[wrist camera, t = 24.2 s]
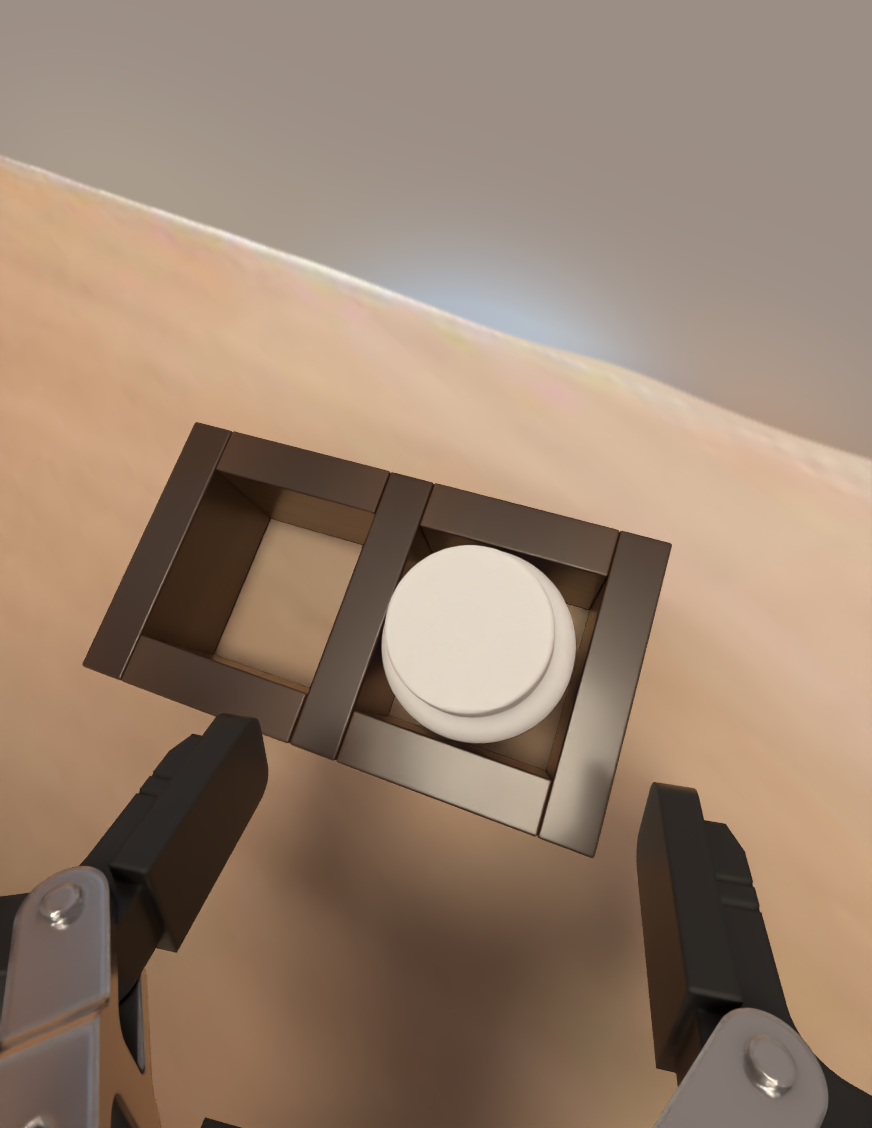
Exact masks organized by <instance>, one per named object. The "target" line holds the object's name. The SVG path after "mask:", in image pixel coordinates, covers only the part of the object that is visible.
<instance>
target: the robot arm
mask: <svg viewBox="0 0 872 1128" xmlns="http://www.w3.org/2000/svg"><path fill="white" fill-rule="evenodd" d="M267 780H268V764H267V758H266V753H265V747H264V742H263V737H262V731H261V726H260V722H259V720H258V719H257V718H253V717H247V716H241V715H234V714H228V713H221V714H219V715H218V716H217V717H216V718H215V719H214V721H213V722H212V723H211V725H210V726H209V727H208V729H207V730H206V731H205V733H204V734H203V736H201V735H195V734H192V735H191V736H189V737H188V738H187V739H185V740H184V741H182V742H181V743H180V744H178V745H177V746H176V747H174V748H173V749H171V750H170V751H169V752H168V753H167V755H166V756H165V757H164V759H163V760H162V761H161V762H160V764H159V765H158V766H157V768H156V769H155V770H154V771H153V775H152V776H150V777H149V778H148V779H147V780H146V782H145V783H144V784H143V786H142V787H141V788H140V792H139V793H138V794H137V793H136V795H135V796H134V797H133V798H132V800H131V801H130V802H129V804H128V805H127V806H126V808H125V809H124V810H123V811H122V813H121V814H120V815H119V817H118V818H117V819H116V820H115V822H114V823H113V824H112V826H111V827H110V828H109V829H108V831H107V832H106V833H105V835H104V836H103V837H102V838H101V840H100V841H99V842H98V844H97V845H96V846H95V847H94V849H93V850H92V851H91V853H90V854H89V855H88V856H87V858H86V859H85V860H84V861H83V862H82V863H81V864H80V865H79V866H78V867H72V868H69V869H65V870H63V871H60V872H58V873H56V874H54V875H52V876H50V877H48V878H47V879H46V880H44V881H43V882H41V883H40V884H39V885H38V886H36V887H35V888H34V889H33V890H32V891H31V892H30V893H24V894H17V895H9V896H2V897H0V1128H161V1123H160V1117H159V1111H158V1107H157V1103H156V1099H155V1094H154V1088H153V1080H152V1066H151V1049H150V1031H149V1013H148V996H147V978H146V970H145V966H146V964H147V962H148V961H149V959H150V957H151V956H152V954H153V952H154V950H155V949H156V948H158V949H163V950H167V951H171V952H175V953H177V951H178V950H179V948H180V946H181V944H182V942H183V940H184V939H185V937H186V935H187V933H188V931H189V930H190V928H191V926H192V924H193V922H194V920H195V919H196V917H197V915H198V913H199V911H200V910H201V908H202V906H203V904H204V902H205V900H206V899H207V897H208V895H209V893H210V891H211V890H212V888H213V886H214V884H215V882H216V880H217V879H218V877H219V875H220V873H221V871H222V870H223V868H224V866H225V864H226V862H227V860H228V859H229V857H230V855H231V853H232V851H233V850H234V848H235V846H236V844H237V842H238V840H239V839H240V837H241V835H242V833H243V831H244V830H245V828H246V826H247V824H248V822H249V821H250V819H251V817H252V815H253V813H254V811H255V810H256V808H257V806H258V804H259V802H260V801H261V799H262V797H263V794H264V792H265V789H266V785H267ZM637 874H638V885H639V895H640V905H641V916H642V926H643V936H644V947H645V957H646V967H647V977H648V988H649V998H650V1008H651V1019H652V1029H653V1039H654V1050H655V1060H656V1068H657V1069H662V1070H666V1071H670V1072H674V1073H676V1075H677V1084H678V1088H677V1090H676V1092H675V1093H674V1095H673V1096H672V1098H671V1100H670V1101H669V1103H668V1104H667V1106H666V1108H665V1109H664V1111H663V1112H662V1114H661V1116H660V1117H659V1119H658V1120H657V1122H656V1124H655V1125H654V1127H653V1128H872V1096H871V1095H869V1094H867V1093H866V1092H864V1091H862V1090H860V1089H859V1088H857V1087H855V1086H853V1085H852V1084H850V1083H848V1082H847V1081H845V1080H844V1079H842V1078H841V1077H839V1076H838V1075H837V1074H835V1073H834V1072H833V1071H831V1070H830V1069H829V1068H828V1067H827V1066H826V1065H825V1064H824V1063H823V1062H822V1061H821V1060H819V1058H818V1057H817V1056H816V1055H815V1054H814V1053H813V1052H812V1050H811V1049H810V1047H809V1046H808V1045H807V1043H806V1042H805V1041H804V1040H803V1039H802V1037H801V1036H800V1034H799V1032H798V1031H797V1029H796V1027H795V1025H794V1023H793V1021H792V1019H791V1017H790V1014H789V1011H788V1008H787V1005H786V1001H785V997H784V994H783V990H782V986H781V983H780V979H779V975H778V972H777V968H776V964H775V961H774V957H773V953H772V950H771V946H770V942H769V939H768V935H767V931H766V928H765V924H764V920H763V917H762V913H761V912H760V911H759V902H758V898H757V895H756V891H755V887H753V880H752V876H751V873H750V869H749V865H748V862H747V858H746V854H745V851H744V850H743V848H742V847H741V845H740V844H739V843H738V841H737V840H736V838H735V837H734V835H733V834H732V833H731V831H730V830H729V828H728V827H727V825H726V824H723V823H717V822H711V821H705V820H704V818H703V814H702V809H701V804H700V800H699V796H698V793H697V791H696V789H694V788H689V787H683V786H676V785H670V784H663V783H657V782H653V783H652V785H651V788H650V792H649V796H648V799H647V803H646V807H645V811H644V815H643V818H642V822H641V826H640V830H639V834H638V841H637ZM201 1128H241V1127H237V1126H234V1125H230V1124H227V1123H223V1122H220V1121H216V1120H212V1119H209V1118H205V1119H204V1121H203V1123H202V1126H201Z"/></svg>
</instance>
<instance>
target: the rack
mask: <svg viewBox="0 0 872 1128" xmlns="http://www.w3.org/2000/svg"><path fill="white" fill-rule="evenodd" d="M270 517H271V518H272V519H275V520H279V521H282V522H286V523H289V524H293V525H296V526H300V527H303V528H307V529H310V530H314V531H317V532H321V533H324V534H328V535H331V536H335V537H338V538H342V539H345V540H348V541H352V542H355V543H359V544H362V545H363V547H362V550H361V553H360V555H359V558H358V561H357V563H356V566H355V569H354V572H353V574H352V577H351V580H350V582H349V585H348V588H347V590H346V593H345V596H344V598H343V601H342V604H341V606H340V609H339V612H338V614H337V617H336V620H335V622H334V625H333V628H332V630H331V633H330V636H329V638H328V641H327V644H326V646H325V649H324V652H323V654H322V657H321V660H320V662H319V665H318V668H317V670H316V673H315V676H314V678H313V681H312V684H311V686H310V688H308V687H305V686H302V685H299V684H297V683H294V682H291V681H288V680H285V679H282V678H279V677H277V676H274V675H271V674H268V673H265V672H262V671H259V670H257V669H254V668H251V667H248V666H245V665H242V664H240V663H237V662H234V661H231V660H228V659H225V658H222V657H220V656H217V655H214V654H213V653H214V651H215V648H216V646H217V644H218V641H219V639H220V636H221V634H222V632H223V629H224V627H225V625H226V622H227V620H228V617H229V615H230V613H231V610H232V608H233V605H234V603H235V601H236V598H237V596H238V593H239V591H240V589H241V586H242V584H243V581H244V579H245V577H246V574H247V572H248V569H249V567H250V565H251V562H252V560H253V557H254V555H255V553H256V550H257V548H258V545H259V543H260V541H261V538H262V536H263V533H264V531H265V529H266V526H267V524H268V522H269V519H270ZM463 545H477V546H485V547H489V548H494V549H497V550H499V551H502V552H506V553H509V554H512V555H514V556H517V557H519V558H521V559H523V560H525V561H527V562H529V563H530V564H532V565H533V566H535V567H536V568H537V569H539V570H540V571H541V572H542V573H544V574H545V575H546V577H547V578H548V579H549V580H551V582H552V583H553V584H554V585H555V586H556V588H557V589H558V590H559V592H560V593H561V595H562V597H563V598H564V600H565V603H568V604H571V605H575V606H578V607H581V608H585V609H590V608H591V609H590V613H589V616H588V620H587V623H586V627H585V631H584V634H583V638H582V642H581V645H580V649H579V653H578V656H577V660H576V663H575V667H574V671H573V674H572V678H571V682H570V685H569V689H568V693H567V696H566V700H565V704H564V707H563V711H562V714H561V718H560V722H559V725H558V729H557V733H556V736H555V740H554V744H553V747H552V751H551V755H550V758H549V762H548V765H547V769H546V772H545V771H544V770H542V769H539V768H536V767H533V766H530V765H527V764H524V763H522V762H519V761H516V760H513V759H510V758H507V757H505V756H502V755H499V754H496V753H493V752H490V751H487V750H485V749H482V748H479V747H476V746H473V745H470V744H467V743H465V742H461V741H457V740H453V739H449V738H446V737H444V736H442V735H439V734H437V733H435V732H433V731H430V730H428V729H425V728H422V727H419V726H416V725H413V724H410V723H408V722H405V721H402V720H399V719H396V718H393V717H391V716H388V713H389V710H390V708H391V705H392V702H393V699H394V696H395V695H394V693H393V691H392V689H391V687H390V685H389V683H388V680H387V677H386V674H385V670H384V666H383V660H382V634H383V628H384V624H385V619H386V613H387V609H388V606H389V603H390V600H391V597H392V595H393V593H394V591H395V589H396V587H397V586H398V584H399V582H400V581H401V580H402V579H403V577H404V576H405V575H406V574H407V573H408V572H409V571H410V569H412V568H413V567H414V566H415V565H416V564H417V563H419V562H420V561H421V560H423V559H424V558H426V557H427V556H429V555H431V554H433V553H436V552H438V551H441V550H443V549H446V548H450V547H456V546H463ZM671 547H672V544H671V543H667V542H664V541H660V540H656V539H652V538H648V537H644V536H640V535H636V534H632V533H628V532H625V531H620V532H619V530H616V529H613V528H609V527H605V526H601V525H597V524H593V523H589V522H585V521H581V520H577V519H574V518H570V517H566V516H562V515H558V514H554V513H550V512H546V511H542V510H538V509H535V508H531V507H527V506H523V505H519V504H515V503H511V502H507V501H503V500H499V499H495V498H492V497H488V496H484V495H480V494H476V493H472V492H468V491H464V490H460V489H456V488H453V487H449V486H445V485H441V484H437V483H435V484H433V483H432V482H428V481H424V480H420V479H416V478H413V477H409V476H405V475H401V474H397V473H393V472H392V473H390V472H389V471H386V470H383V469H379V468H375V467H371V466H367V465H363V464H359V463H355V462H351V461H347V460H344V459H340V458H336V457H332V456H328V455H324V454H320V453H316V452H312V451H308V450H305V449H301V448H297V447H293V446H289V445H285V444H281V443H277V442H273V441H269V440H266V439H262V438H258V437H254V436H250V435H246V434H242V433H238V432H232V431H229V430H225V429H222V428H218V427H214V426H210V425H206V424H202V423H198V422H196V423H195V424H194V426H193V428H192V430H191V433H190V435H189V437H188V439H187V441H186V443H185V445H184V448H183V450H182V452H181V454H180V456H179V458H178V460H177V463H176V465H175V467H174V469H173V471H172V473H171V475H170V478H169V480H168V482H167V484H166V486H165V488H164V490H163V493H162V495H161V497H160V499H159V501H158V503H157V505H156V508H155V510H154V512H153V514H152V516H151V518H150V520H149V523H148V525H147V527H146V529H145V531H144V533H143V535H142V538H141V540H140V542H139V544H138V546H137V548H136V550H135V553H134V555H133V557H132V559H131V561H130V563H129V565H128V568H127V570H126V572H125V574H124V576H123V578H122V580H121V583H120V585H119V587H118V589H117V591H116V593H115V595H114V598H113V600H112V602H111V604H110V606H109V608H108V610H107V612H106V615H105V617H104V619H103V621H102V623H101V625H100V627H99V630H98V632H97V634H96V636H95V638H94V640H93V642H92V645H91V647H90V649H89V651H88V653H87V655H86V657H85V660H84V662H83V666H84V667H86V668H89V669H91V670H94V671H96V672H99V673H102V674H104V675H107V676H110V677H112V678H115V679H118V680H122V681H123V682H125V683H128V684H131V685H133V686H136V687H139V688H141V689H144V690H147V691H149V692H152V693H155V694H157V695H160V696H163V697H165V698H168V699H171V700H173V701H176V702H179V703H181V704H184V705H186V706H189V707H192V708H194V709H197V710H200V711H202V712H205V713H208V714H210V715H213V716H216V717H217V716H218V715H219V714H221V713H228V714H234V715H241V716H247V717H253V718H257V719H258V720H259V722H260V726H261V731H262V734H264V735H266V736H269V737H272V738H274V739H277V740H279V741H282V742H285V743H290V744H291V745H293V746H296V747H298V748H301V749H304V750H306V751H309V752H312V753H314V754H317V755H320V756H322V757H325V758H328V759H330V760H333V761H334V760H337V762H338V763H341V764H343V765H346V766H349V767H351V768H354V769H357V770H359V771H362V772H365V773H367V774H370V775H372V776H375V777H378V778H380V779H383V780H386V781H388V782H391V783H394V784H396V785H399V786H402V787H404V788H407V789H410V790H412V791H415V792H418V793H420V794H423V795H426V796H428V797H431V798H434V799H436V800H439V801H442V802H444V803H447V804H450V805H452V806H455V807H457V808H460V809H463V810H465V811H468V812H471V813H473V814H476V815H479V816H481V817H484V818H487V819H489V820H492V821H495V822H497V823H500V824H503V825H505V826H508V827H511V828H513V829H516V830H519V831H521V832H524V833H527V834H529V835H532V836H537V835H538V838H540V839H542V840H545V841H548V842H550V843H553V844H556V845H558V846H561V847H564V848H566V849H569V850H572V851H574V852H577V853H580V854H582V855H585V856H588V857H590V858H594V857H595V853H596V849H597V845H598V841H599V837H600V833H601V829H602V825H603V821H604V817H605V813H606V809H607V805H608V801H609V797H610V793H611V789H612V785H613V781H614V777H615V773H616V769H617V765H618V761H619V756H620V752H621V748H622V744H623V740H624V736H625V732H626V728H627V724H628V720H629V716H630V712H631V708H632V704H633V700H634V696H635V692H636V688H637V684H638V680H639V676H640V672H641V668H642V664H643V660H644V656H645V652H646V648H647V644H648V640H649V636H650V632H651V628H652V624H653V620H654V616H655V612H656V608H657V603H658V599H659V595H660V591H661V587H662V583H663V579H664V575H665V571H666V567H667V563H668V559H669V555H670V551H671Z"/></svg>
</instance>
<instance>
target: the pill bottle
mask: <svg viewBox="0 0 872 1128" xmlns="http://www.w3.org/2000/svg"><path fill="white" fill-rule="evenodd" d="M575 654H576V639H575V630H574V625H573V621H572V617H571V614H570V611H569V609H568V607H567V605H566V603H565V600H564V598H563V597H562V595H561V593H560V592H559V590H558V589H557V588H556V586H555V585H554V584H553V583H552V582H551V580H549V579H548V578H547V577H546V575H545V574H544V573H542V572H541V571H540V570H539V569H537V568H536V567H535V566H533V565H532V564H530V563H529V562H527V561H525V560H523V559H521V558H519V557H517V556H514V555H512V554H509V553H506V552H502V551H499V550H497V549H494V548H489V547H485V546H477V545H463V546H456V547H450V548H446V549H443V550H441V551H438V552H436V553H433V554H431V555H429V556H427V557H426V558H424V559H423V560H421V561H420V562H419V563H417V564H416V565H415V566H414V567H413V568H412V569H410V571H409V572H408V573H407V574H406V575H405V576H404V577H403V579H402V580H401V581H400V582H399V584H398V586H397V587H396V589H395V591H394V593H393V595H392V597H391V600H390V603H389V606H388V609H387V613H386V619H385V624H384V628H383V634H382V660H383V666H384V670H385V674H386V677H387V680H388V683H389V685H390V687H391V689H392V691H393V693H394V695H395V696H396V698H397V699H398V701H399V702H400V704H401V705H402V706H403V707H404V709H405V710H406V711H407V712H408V713H409V714H410V715H411V716H412V717H413V718H414V719H415V720H417V721H418V722H419V723H420V724H422V725H423V726H425V727H426V728H428V729H430V730H431V731H433V732H435V733H437V734H439V735H442V736H444V737H446V738H449V739H453V740H457V741H461V742H468V743H490V742H498V741H502V740H506V739H509V738H512V737H515V736H518V735H520V734H522V733H524V732H526V731H528V730H530V729H531V728H533V727H534V726H536V725H537V724H538V723H540V722H541V721H542V720H543V719H544V718H545V717H546V716H547V715H549V714H550V713H551V711H552V710H553V709H554V708H555V706H556V705H557V704H558V702H559V701H560V699H561V698H562V696H563V694H564V692H565V690H566V688H567V686H568V684H569V681H570V678H571V675H572V671H573V667H574V661H575Z"/></svg>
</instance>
